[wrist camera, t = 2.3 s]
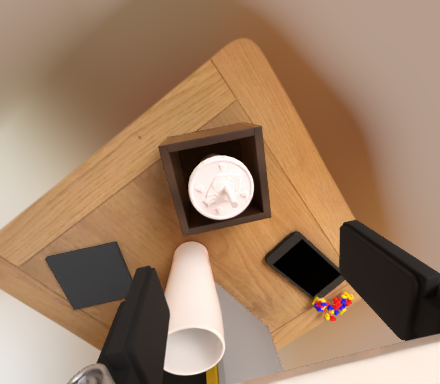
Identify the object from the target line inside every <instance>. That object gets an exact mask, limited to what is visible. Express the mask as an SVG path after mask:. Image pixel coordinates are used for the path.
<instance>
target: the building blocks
mask: <svg viewBox="0 0 440 384" xmlns="http://www.w3.org/2000/svg"><path fill="white" fill-rule="evenodd" d="M343 294H344V295H341V298H338V300H337V299H336V298H334V299H333V300H334V301H335V302H334V304H335V305H332V306H331V305H329V304H328V303H327V302H326V300H325V299H324V298H319V297H316V298H315V299H314V301H313V302H312V305H313V306H314V307H315V308H316V309H317V311H318V312H319V311H325V310H326V308H327V309H328V310H330V311H329V313H330V314H333V313H334V314H335V315H337V314H338V313H339V314H340V315H341V314H342V313H343V312H344V311H346V309H345V307H346V306H349V304H351V303H352V302H351V300H353V295H352V294H350V295H349V294H347V293H346V292H345V291H344V292H343ZM346 298H347V299H348V301H346ZM340 302H341V303H346V304H343V305H341V304H340ZM338 308H339V309H338ZM333 309H335V310H333ZM337 309H338V310H337ZM324 317H325V319H326V320H329V319H330V320H331V321H335V320H336V318H335V317H334V316H329V314H328V313H326V315H325V316H324Z"/></svg>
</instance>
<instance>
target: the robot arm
mask: <svg viewBox="0 0 440 384" xmlns="http://www.w3.org/2000/svg"><path fill="white" fill-rule="evenodd" d="M339 270H340V273H341V275H342V276H343V278H344V279H345V280H346V281H347V282H348V283H349V284H350V285H351V286H352V287H353V289H354V290H355V291H356V292H357V293H358V294H359V295H360V296H361V297H362V298H363V299H364V301H365V302H367V304H368V305H369V306H370V307H371V308H372V309H373V310H374V311H375V313H377V314H378V316H379V317H380V318H381V319H382V320H383V321H384V322H385V323H386V324H387V326H388V327H390V329H391V330H392V331H393V332H394V333H395V334H396V335H397V336H398V337H399V338H400V339H401V340H405V342H400V343H397V344H392V345H388V346H384V347H380V348H376V349H372V350H367V351H364V352H359V353H355V354H351V355H347V356H343V357H339V358H335V359H331V360H327V361H323V362H319V363H315V364H311V365H307V366H303V367H299V368H295V369H291V370H287V371H283V372H279V373H275V374H271V375H267V376H263V377H259V378H255V379H251V380H247V381H243V382H239V383H236V384H440V273H438V272H437V271H435V270H434V269H432V268H430V267H429V266H427V265H426V264H424V263H423V262H421V261H419V260H418V259H416V258H415V257H413V256H412V255H410V254H409V253H407V252H405V251H404V250H403V249H401V248H399V247H398V246H396V245H395V244H393V243H392V242H390V241H388V240H387V239H385V238H384V237H382V236H381V235H379V234H378V233H376V232H375V231H373V230H371V229H369V228H368V227H367V226H365V225H364V224H362V223H360V222H359V221H357V220H353V221H348V222H344V223H343V225H342V226H341V227H340V259H339ZM169 321H170V310H169V307H168V304H167V301H166V298H165V295H164V292H163V289H162V287H161V284H160V281H159V278H158V275H157V272H156V270H155V268H151V267H150V266H146V267H141V268H138V269H137V270H136V272H135V275H134V278H133V280H132V283H131V286H130V288H129V291H128V294H127V296H126V299H125V301H122V302H121V304H120V305H119V308H118V310H117V313H116V315H115V318H114V320H113V323H112V325H111V328H110V331H109V333H108V336H107V338H106V341H105V343H104V346H103V348H102V351H101V354H100V356H99V358H98V361H97V364H92V365H89V366H87V367H85V368H84V369H82V370H81V371H79V372H78V373H77V374H76V375H75V376H74V377H73V378H72V379H71V380H70V381H69V382H68V384H162V379H163V370H164V362H165V354H166V346H167V337H168V329H169Z"/></svg>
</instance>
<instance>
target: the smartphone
mask: <svg viewBox="0 0 440 384" xmlns="http://www.w3.org/2000/svg"><path fill="white" fill-rule="evenodd" d="M265 261H266V263H267V264H269V265H270V266H271V267H272V268H274V269H275V270H276V271H277V272H279V273H280V274H281V275H282V276H284V277H285V278H286V279H288V280H289V281H290V282H292V283H293V284H294V285H295V286H297V287H298V288H299V289H300V290H302V291H303V292H304V293H306V294H307V295H308V296H309V297H311V298H312V299H315V298H316V297H319V298H323V297H324V296H326V295H327V294H328V293H329V292H331V291H332V290H333V289H334V288H336V287H337V286H338V285H340V284H341V283H342V282H343V281H344V280H345V279H344V278H343V276H342V275H341V273H340V270H339V268H338V267H337V266H336V265H335V264H334V263H332V262H331V261H330V260H329V259H328V258H327V257H326V256H325V255H324V254H323V253H322V252H320V251H319V250H318V249H317V248H316V247H315V246H314V245H313V244H312V243H311V242H310V241H309V240H307V239H306V238H305V237H304V236H303V235H302V234H301V233H299V232H297V231H295V232H293V233H291V234H290V235H289V236H288V237H287V238H286V239H284V240H283V241H282V242H281V243H280V244H279V245H278V246H277V247H275V248H274V249H273V250H272V251H271V252H270V253H269V254H268V255H267V256H266V257H265Z"/></svg>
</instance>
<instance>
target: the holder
mask: <svg viewBox="0 0 440 384" xmlns="http://www.w3.org/2000/svg"><path fill="white" fill-rule="evenodd" d="M236 139H240V143H241V150H242V157H243V164H244V165H245V166H246V167H247V169H248V171H249V172H250V174H251V176H252V179H253V183H254V192H253V196H252V199H251V201H250V203H249V205H248V206H247V207H246V208H245V209H244V210H243V211H242V212H241V213H240V214H238V215H236V216H234V217H232V218H229V219H223V220H217V219H211V218H208V217H206V216H204V215H202V214H201V213H200V212H198V211H197V210H196V209H195V207H194V206H193V204H192V202H191V201H190V200H189V196H188V192H187V188H186V184H185V180H184V176H183V172H182V168H181V164H180V160H179V156H178V152H177V151H181V150H186V149H191V148H196V147H201V146H206V145H211V144H216V143H221V142H226V141H231V140H236ZM158 148H159V151H160V155H161V158H162V162H163V166H164V169H165V173H166V176H167V180H168V183H169V187H170V191H171V194H172V198H173V201H174V205H175V208H176V212H177V215H178V219H179V223H180V226H181V230H182V233H183V236H188V235H193V234H198V233H202V232H207V231H211V230H216V229H220V228H225V227H230V226H234V225H239V224H243V223H248V222H252V221H257V220H261V219H264V218H265V219H266V218H271V209H270V200H269V190H268V181H267V172H266V162H265V153H264V143H263V134H262V126H259V125H254V124H249V123H238V124H233V125H228V126H223V127H218V128H213V129H208V130H202V131H197V132H192V133H187V134H182V135H177V136H172V137H168V138H167V139H165V140H164V141H163V142H162V143H161V144H160V145H159V146H158Z"/></svg>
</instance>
